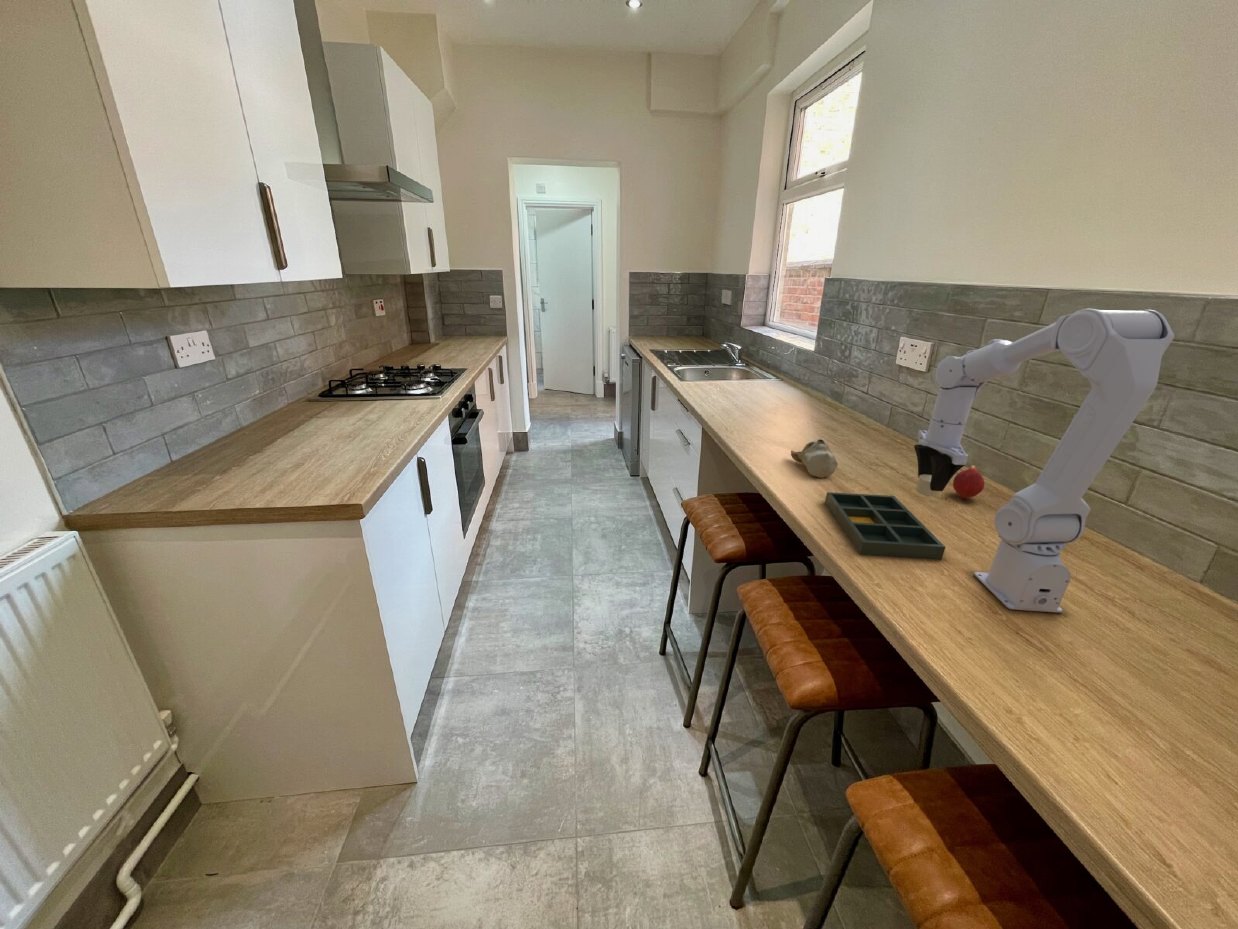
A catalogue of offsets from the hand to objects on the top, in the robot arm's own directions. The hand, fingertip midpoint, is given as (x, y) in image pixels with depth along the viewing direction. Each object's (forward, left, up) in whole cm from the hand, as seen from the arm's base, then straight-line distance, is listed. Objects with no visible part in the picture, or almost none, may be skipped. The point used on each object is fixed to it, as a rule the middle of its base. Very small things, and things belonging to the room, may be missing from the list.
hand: (930, 484), depth 98 cm
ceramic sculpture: (+26, +14, -9) cm, 31 cm away
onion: (+13, -16, -9) cm, 22 cm away
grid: (-4, +10, -8) cm, 14 cm away
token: (0, 0, -2) cm, 2 cm away
